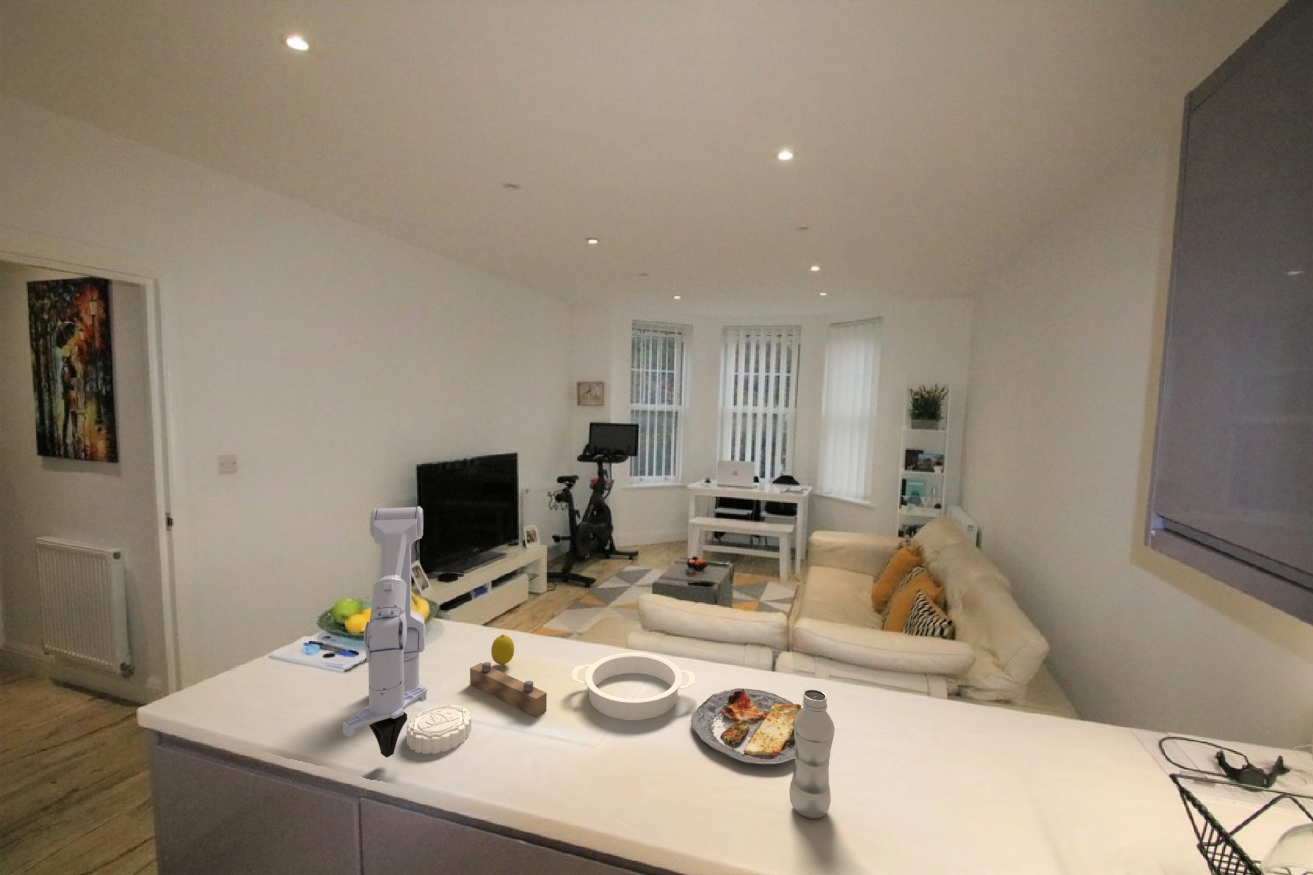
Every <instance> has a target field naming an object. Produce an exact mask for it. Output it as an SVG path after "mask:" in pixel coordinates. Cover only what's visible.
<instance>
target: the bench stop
mask: <svg viewBox="0 0 1313 875" xmlns="http://www.w3.org/2000/svg"><path fill="white" fill-rule="evenodd" d="M469 685H471V686H472V687H474V688H477V689H478V690H481V691H483V692H485V693H486V694H489V695H491V696H493V697H495V698H497V699H499V700H501V701H503V702H504V703H507V704H509V705H511V706H513V707H514V708H515V707H516V708H517V709H519V710H521V711H524V712H525V713H528V714H529V715H531V716H533V717H535V718H537V717H538V716H540V715H542V714H544V713H545V712H546V711H547V706H548V705H547V697H548V694H547V692H546V691H543V690H541V689H539V688H538V687H535V686H534V681H532V680H526V681H522V680H519V679H518V678H516V677H513V676H512V675H508V674H506V673H504V672H502V671H500V670H498V669H495V668H493V667H492V662H490V661H487V662H486V661H485V662H483V663H482V662H479V663H478V664H475V665H473V666H471V667H470V668H469Z"/></svg>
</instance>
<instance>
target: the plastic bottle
mask: <svg viewBox="0 0 1313 875" xmlns="http://www.w3.org/2000/svg"><path fill="white" fill-rule="evenodd" d="M827 701H828V697H827V695H826V693H824V692H823V691H822V690H817V689H812V688H811V689H807V690H806V689H805V691H804V692H803V698H802V707H801V708H802V709H801V710H800V711H799V712H798V714H797V715H796V717H795V719H794V736H795V759H794V767H793V773H792V778H791V781H790V785H789V786H790V787H789V791H788V792H789V801H790V803H791V805H792V807H793V809H794V810H795V812H796V813H797V814H799V815H800V816H802V817H805V818H808V819H811V820H813V819H815V820H816V819H820V818H822V817H824V816H825V815H826V814H827V813H828V812H829V809H830V805H831V803H832V802H831V801H832V800H831V799H832V798H831V797H832V796H831V787H830V776H829V769H830V768H829V767H830V760H831V759H830V757H831V750H832V746H833V741H834V737H835V731H836V730H835V726H834V721H833V720H832V718H831V716H830V714H829V713H828V712H827V709H828V702H827Z"/></svg>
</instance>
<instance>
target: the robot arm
mask: <svg viewBox="0 0 1313 875" xmlns="http://www.w3.org/2000/svg"><path fill="white" fill-rule="evenodd" d="M369 517H370V518H369V532H370V536H371V537H372V538H373V540H374V544H376V545H378V546H380V548H381V550H380V551H381V553H380V554H381V556H380V559H381V561H380V562H381V564H380V565H381V566H380V567H381V568H380V570H381V571H380V572H381V573H380V575H381V576H380V579H378V581H377V582H375V583H374V584H373V588H372V590H373V591H372V596H371V606H370V613H369V614H370V615H369V621H367V622H366V624H365V626H364V634H363V643H364V644H363V645H364V650H365V655H366V658H365V659H366V664H367V663H368V706H367V707H365V708H364V709H363V710H361V711H359V712H358V713H357V714H355V715H354V716H353V717H351V718H349V719H348V720H346V721H343V722H342V733H343V735H345V736H346V737H348V738H350V737H352V736H354V735H355V734H356V732H358V731H360V730H362V729H365V728H366V727H369V728H370V729H371V731H372V733H373V735H374V736H375V738H376V741H377V744H378V748H379V750H380V754H381V755H383V757H385V758H389V757H390V756H392V755H394V754H395V749H396V745H397V742H398V740H399V736H400V734H401V731H402V729H403V728H404V725H405V724H406V722H407V721H408V714H407V712H405V710H406V709H407V708H408V707H410V706H411V705H414V704H415V703H418V702H424V701H427V692H428V687H426V686H424V685H423V684H420V653H423V652H424V651H425V649H426V633H427V632H426V625H425V623H426V622H425V620H426V619H425V617H424V615H422V614H420V613H419V612H417V611H415V610H413V609H412V546H413V544H414V542H416V541H417V540H421V539H422V538H423V536H424V509H423V508H422V507H421V506H420V505H419V506H417V507H416V506H411V507H410V506H409V507H408V506H407V507H391V508H390V507H389V508H388V507H386V508H378V507H374V508H373V509H372V510H371V512H370V516H369Z"/></svg>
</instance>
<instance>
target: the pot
mask: <svg viewBox="0 0 1313 875" xmlns="http://www.w3.org/2000/svg"><path fill="white" fill-rule="evenodd" d="M583 668H587V669H586V672H585V674H584V675H585V676H584V680H585V681H584V680H581V679H579V678H578V673H579V672H580V671H581V670H582V669H583ZM682 673H684V674H686V675H687V676H688V681H687V682H686V684H685V685H682V683H683V674H682ZM624 674H642V675H647V676H653V677H655V678H658V679H661V680H662V681H664V682H666V683H667V684H668V685H669V686H670V687H669V689H667V690H666V691H664V692H661V693H659V694H657V695H654V696H650V697H645V698H643V697H642V698H627V697H626V698H624V697H618V696H614V695H612V694H608V693H606V692H604V691H602V690H601V689H599V688H598V687H597V685H598V684H600V683H602V681H604V680H607V679H608V678H612V677H615V676H619V675H624ZM570 678H571V680H572V681H575V682H576V683H579V684H583V685H587V690H588V696H589V702H590V703H591V705H592V707H594V708H595V709H596V710H597V712H599V713H601V714H603V715H605V716H607V717H610V718H613V719H614V718H615V719H618V720H626V721H641V720H649V719H652V718H656V717H659V716H662V715H665V713H667V712H669V711H670V710H671V709H672V708H673V707H674V706H675V704H676V703H677V701H678V696H679V695H678V691H679V690H681V689H686V688H689V687H690V688H691V687H692V686H693V684H695V682H696V677H695V674H694V673H693V672H692V671H689V670H686V669H680V668H679V667H678V666H677V665H676V664H675V663H673V662H672V661H670V660H669V659H667V658H665V657H662V656H659V655H655V654H650V653H643V652H624V653H617V654H611V655H608V656H605V657H602V658H600V659H598V660H596V661H595V662H594V663H592V664H584V665H583V664H582V665H578V666H576V667H574V668H573V669H572V671H571V673H570ZM681 685H682V686H681Z"/></svg>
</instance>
